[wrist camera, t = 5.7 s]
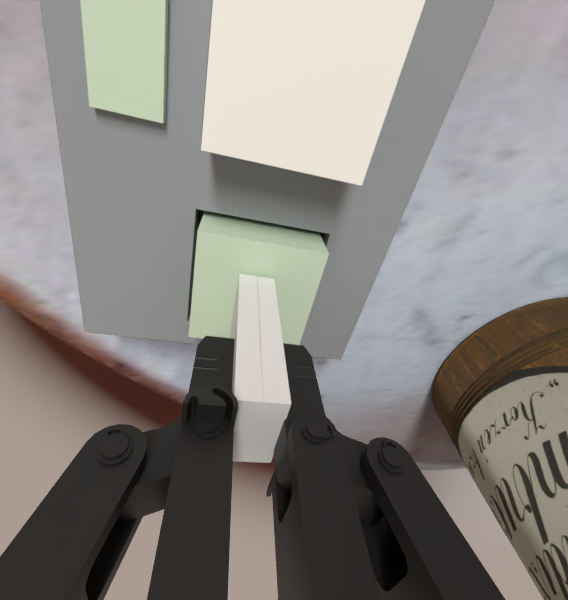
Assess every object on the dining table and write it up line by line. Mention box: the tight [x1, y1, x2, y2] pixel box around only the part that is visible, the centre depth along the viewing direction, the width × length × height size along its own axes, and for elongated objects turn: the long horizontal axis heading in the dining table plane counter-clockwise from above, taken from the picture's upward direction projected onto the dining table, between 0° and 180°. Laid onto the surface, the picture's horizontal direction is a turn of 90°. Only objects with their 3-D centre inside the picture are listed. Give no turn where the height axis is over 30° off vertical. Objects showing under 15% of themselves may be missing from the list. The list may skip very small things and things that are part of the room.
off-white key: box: [201, 0, 425, 186], centre depth 10 cm, size 5×5×3 cm
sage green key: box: [189, 211, 329, 345], centre depth 16 cm, size 5×5×3 cm
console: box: [40, 0, 495, 360], centre depth 12 cm, size 26×14×3 cm, turn 167°
